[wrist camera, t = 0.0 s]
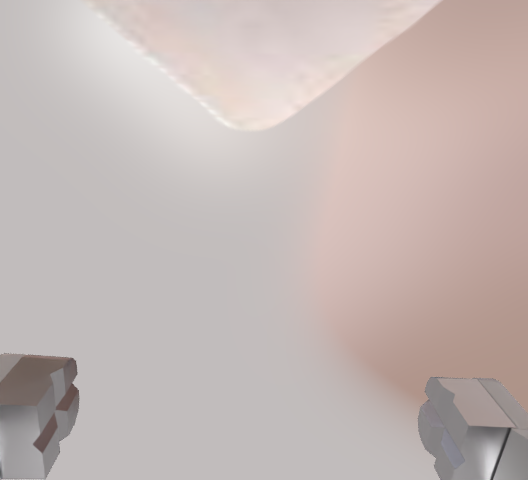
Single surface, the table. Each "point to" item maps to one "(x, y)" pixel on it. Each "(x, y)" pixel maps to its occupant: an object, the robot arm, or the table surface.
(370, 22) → the table surface
